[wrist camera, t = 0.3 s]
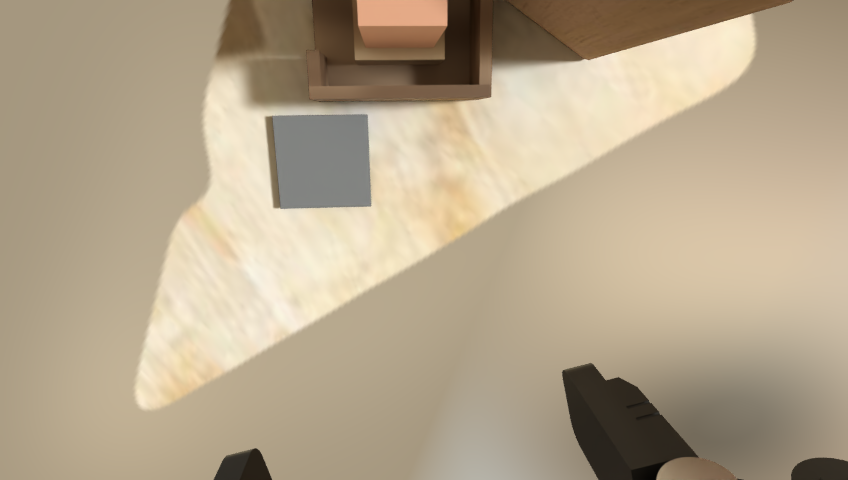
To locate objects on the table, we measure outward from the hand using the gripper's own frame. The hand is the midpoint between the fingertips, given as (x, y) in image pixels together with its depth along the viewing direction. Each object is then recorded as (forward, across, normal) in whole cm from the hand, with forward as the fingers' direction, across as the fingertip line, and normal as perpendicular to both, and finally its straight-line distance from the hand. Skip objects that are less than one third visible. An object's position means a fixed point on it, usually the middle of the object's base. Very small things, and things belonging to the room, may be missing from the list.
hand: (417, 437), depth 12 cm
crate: (+28, -4, -14) cm, 31 cm away
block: (+24, -4, -14) cm, 28 cm away
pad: (+28, +5, -5) cm, 28 cm away
